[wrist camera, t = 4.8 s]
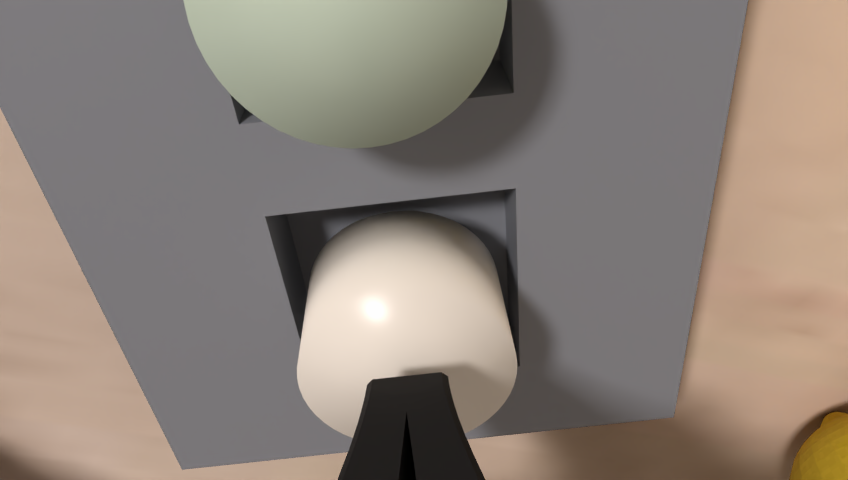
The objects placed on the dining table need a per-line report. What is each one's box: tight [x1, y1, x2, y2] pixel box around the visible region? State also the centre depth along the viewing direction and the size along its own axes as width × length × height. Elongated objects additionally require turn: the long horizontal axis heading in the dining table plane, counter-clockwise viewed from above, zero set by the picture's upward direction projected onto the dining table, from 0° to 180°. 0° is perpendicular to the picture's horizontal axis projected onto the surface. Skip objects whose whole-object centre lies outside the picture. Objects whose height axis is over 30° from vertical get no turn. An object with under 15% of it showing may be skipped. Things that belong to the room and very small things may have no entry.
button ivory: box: [297, 211, 517, 438], centre depth 14 cm, size 4×4×3 cm
